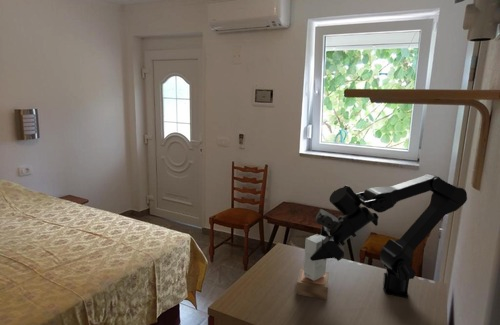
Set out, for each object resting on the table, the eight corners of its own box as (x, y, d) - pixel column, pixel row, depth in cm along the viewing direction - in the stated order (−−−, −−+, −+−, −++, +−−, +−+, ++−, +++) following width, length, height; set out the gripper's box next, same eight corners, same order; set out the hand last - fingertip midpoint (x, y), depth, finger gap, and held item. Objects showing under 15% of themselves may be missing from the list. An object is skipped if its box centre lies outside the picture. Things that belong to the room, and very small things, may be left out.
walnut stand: (328, 283, 106) (329, 271, 106) (326, 299, 98) (327, 286, 97) (299, 279, 109) (300, 267, 108) (296, 294, 100) (297, 281, 99)
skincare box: (314, 281, 99) (317, 243, 96) (302, 275, 102) (304, 238, 99) (326, 274, 103) (329, 237, 100) (314, 268, 106) (316, 233, 104)
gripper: (331, 194, 106) (295, 223, 110) (334, 213, 88) (291, 247, 92) (355, 219, 106) (317, 248, 110) (363, 244, 88) (318, 277, 92)
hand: (311, 253), depth 101 cm, fingers closed on skincare box, 7 cm apart
